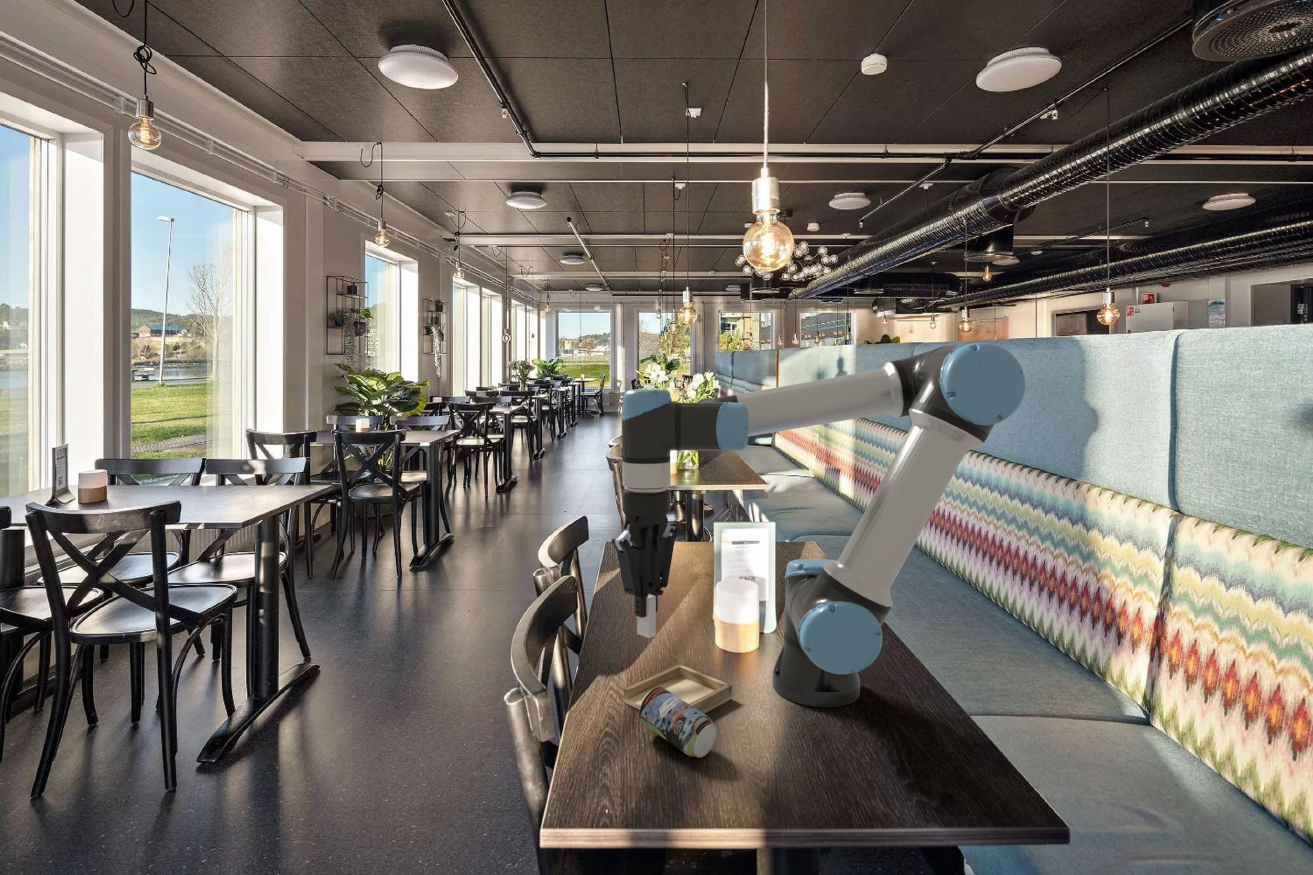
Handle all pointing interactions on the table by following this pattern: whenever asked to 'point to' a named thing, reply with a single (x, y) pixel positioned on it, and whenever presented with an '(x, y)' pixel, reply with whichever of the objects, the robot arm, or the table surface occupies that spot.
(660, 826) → the table surface
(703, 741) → the beverage can
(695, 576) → the table surface
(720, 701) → the beige tray
